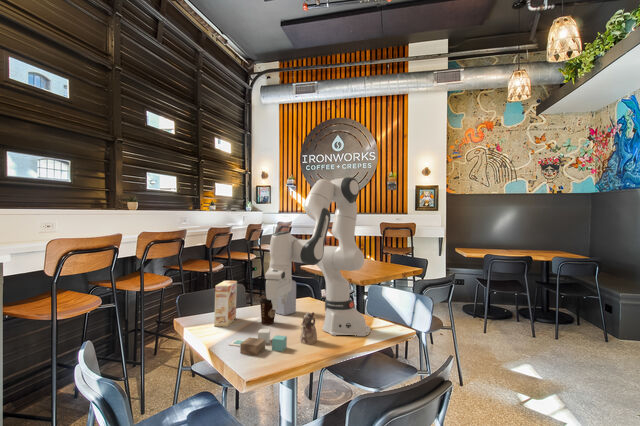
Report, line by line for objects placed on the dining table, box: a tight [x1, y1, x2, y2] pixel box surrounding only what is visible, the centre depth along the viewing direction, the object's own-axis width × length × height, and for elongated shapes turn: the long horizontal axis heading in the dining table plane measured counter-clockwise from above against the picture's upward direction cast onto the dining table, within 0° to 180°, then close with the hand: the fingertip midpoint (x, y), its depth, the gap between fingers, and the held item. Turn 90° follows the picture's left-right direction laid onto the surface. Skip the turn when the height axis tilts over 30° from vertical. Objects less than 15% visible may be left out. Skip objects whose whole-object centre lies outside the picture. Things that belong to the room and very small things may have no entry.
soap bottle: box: [275, 279, 297, 316], centre depth 185 cm, size 9×9×25 cm
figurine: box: [299, 311, 318, 345], centre depth 141 cm, size 7×7×12 cm
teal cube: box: [271, 334, 288, 352], centre depth 133 cm, size 4×4×4 cm
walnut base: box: [239, 337, 266, 357], centre depth 130 cm, size 7×7×4 cm
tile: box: [228, 338, 246, 347], centre depth 138 cm, size 6×6×1 cm
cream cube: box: [257, 328, 271, 344], centre depth 141 cm, size 4×4×4 cm
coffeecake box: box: [213, 280, 238, 328], centre depth 167 cm, size 15×7×20 cm, turn 179°
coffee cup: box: [259, 295, 276, 326], centre depth 166 cm, size 9×8×13 cm
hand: (279, 306), depth 133 cm, fingers open, 8 cm apart
